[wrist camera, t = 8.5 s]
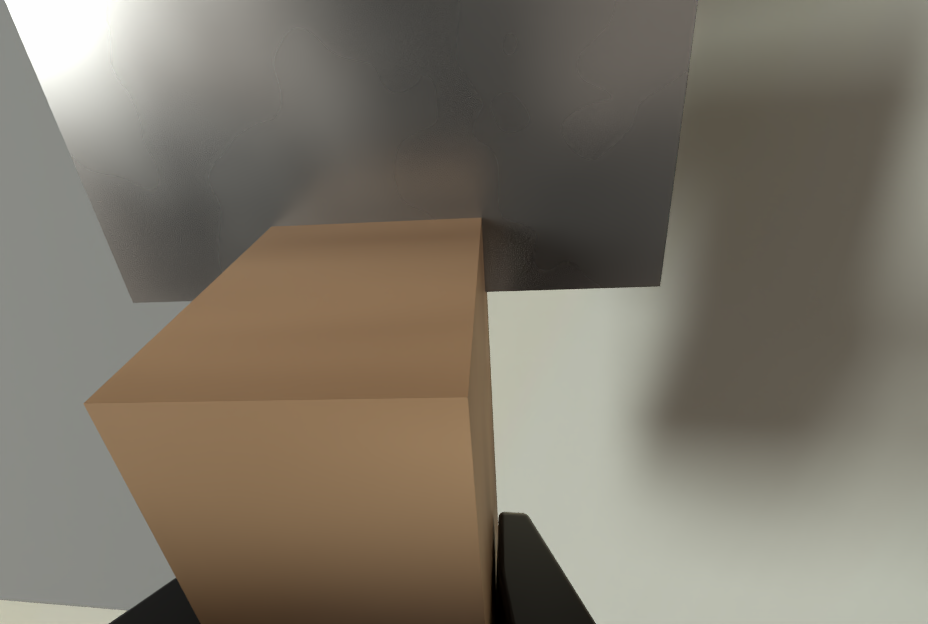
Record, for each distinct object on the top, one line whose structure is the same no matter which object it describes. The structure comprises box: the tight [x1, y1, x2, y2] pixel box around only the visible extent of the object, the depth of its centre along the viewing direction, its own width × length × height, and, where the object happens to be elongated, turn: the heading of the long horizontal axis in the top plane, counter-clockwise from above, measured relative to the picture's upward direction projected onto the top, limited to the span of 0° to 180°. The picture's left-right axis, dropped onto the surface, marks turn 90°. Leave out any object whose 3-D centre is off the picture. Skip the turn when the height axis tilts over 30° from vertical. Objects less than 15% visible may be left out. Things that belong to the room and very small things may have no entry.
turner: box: [5, 0, 698, 624], centre depth 6 cm, size 14×7×4 cm, turn 3°
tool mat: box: [0, 0, 192, 610], centre depth 18 cm, size 22×13×1 cm, turn 179°
